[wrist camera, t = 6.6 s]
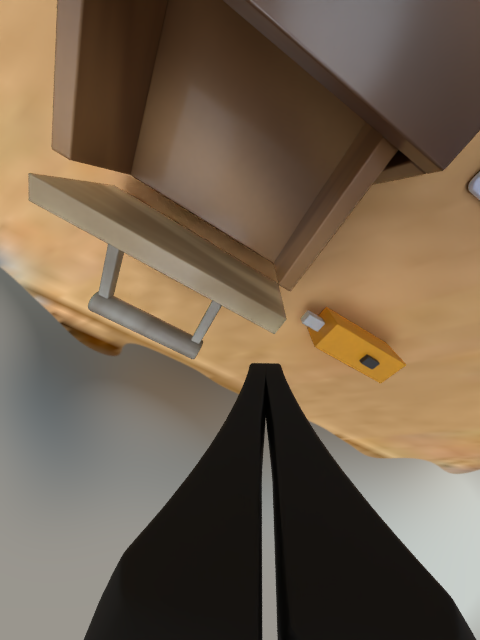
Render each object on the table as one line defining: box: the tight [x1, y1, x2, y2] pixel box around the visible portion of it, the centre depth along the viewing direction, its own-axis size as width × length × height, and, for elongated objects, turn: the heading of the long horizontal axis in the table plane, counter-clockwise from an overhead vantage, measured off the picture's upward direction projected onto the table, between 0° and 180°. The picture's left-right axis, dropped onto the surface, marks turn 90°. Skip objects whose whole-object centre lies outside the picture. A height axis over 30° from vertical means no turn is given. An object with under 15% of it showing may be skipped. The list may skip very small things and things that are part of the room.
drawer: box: [29, 0, 398, 359], centre depth 11 cm, size 18×13×6 cm
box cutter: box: [301, 307, 406, 383], centre depth 17 cm, size 9×3×3 cm, turn 61°
